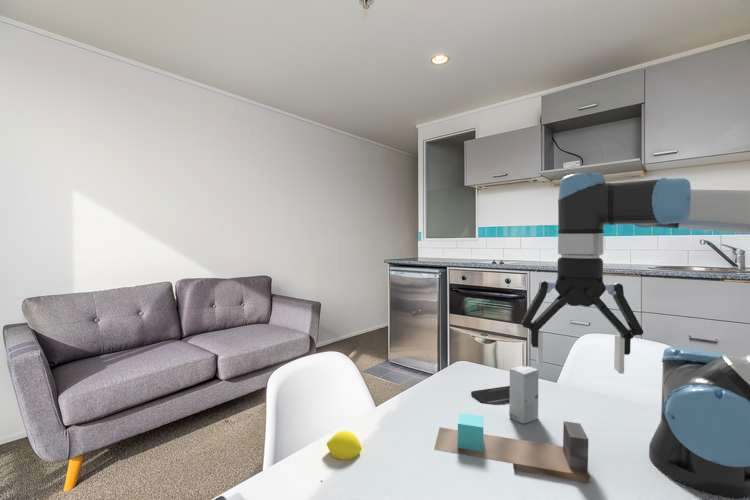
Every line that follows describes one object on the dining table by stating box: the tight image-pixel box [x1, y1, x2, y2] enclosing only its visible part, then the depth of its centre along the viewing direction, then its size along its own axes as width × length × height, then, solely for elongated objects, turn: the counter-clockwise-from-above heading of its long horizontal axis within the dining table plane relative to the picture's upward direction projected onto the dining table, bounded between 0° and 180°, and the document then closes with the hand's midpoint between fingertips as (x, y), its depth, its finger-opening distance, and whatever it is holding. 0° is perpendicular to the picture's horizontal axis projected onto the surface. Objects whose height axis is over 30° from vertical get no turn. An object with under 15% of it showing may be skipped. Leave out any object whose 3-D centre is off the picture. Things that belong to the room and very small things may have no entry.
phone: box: [470, 385, 510, 406], centre depth 101 cm, size 8×1×15 cm
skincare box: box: [508, 364, 539, 425], centre depth 89 cm, size 6×4×12 cm
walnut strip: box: [434, 421, 591, 484], centre depth 74 cm, size 28×9×7 cm, turn 73°
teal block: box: [457, 412, 485, 452], centre depth 76 cm, size 5×5×5 cm
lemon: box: [326, 430, 362, 461], centre depth 72 cm, size 7×5×5 cm
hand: (578, 367), depth 69 cm, fingers open, 13 cm apart
